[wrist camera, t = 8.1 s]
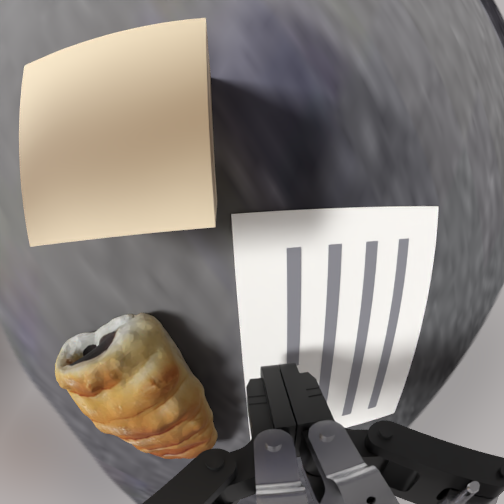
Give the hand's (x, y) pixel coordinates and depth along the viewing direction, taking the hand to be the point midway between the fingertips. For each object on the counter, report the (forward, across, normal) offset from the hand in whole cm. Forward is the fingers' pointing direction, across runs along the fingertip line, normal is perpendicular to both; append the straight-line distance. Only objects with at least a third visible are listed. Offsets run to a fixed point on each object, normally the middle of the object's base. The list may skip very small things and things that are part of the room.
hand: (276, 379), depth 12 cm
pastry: (+2, +6, +1) cm, 7 cm away
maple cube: (+2, +5, -10) cm, 11 cm away
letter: (+2, -4, 0) cm, 4 cm away
